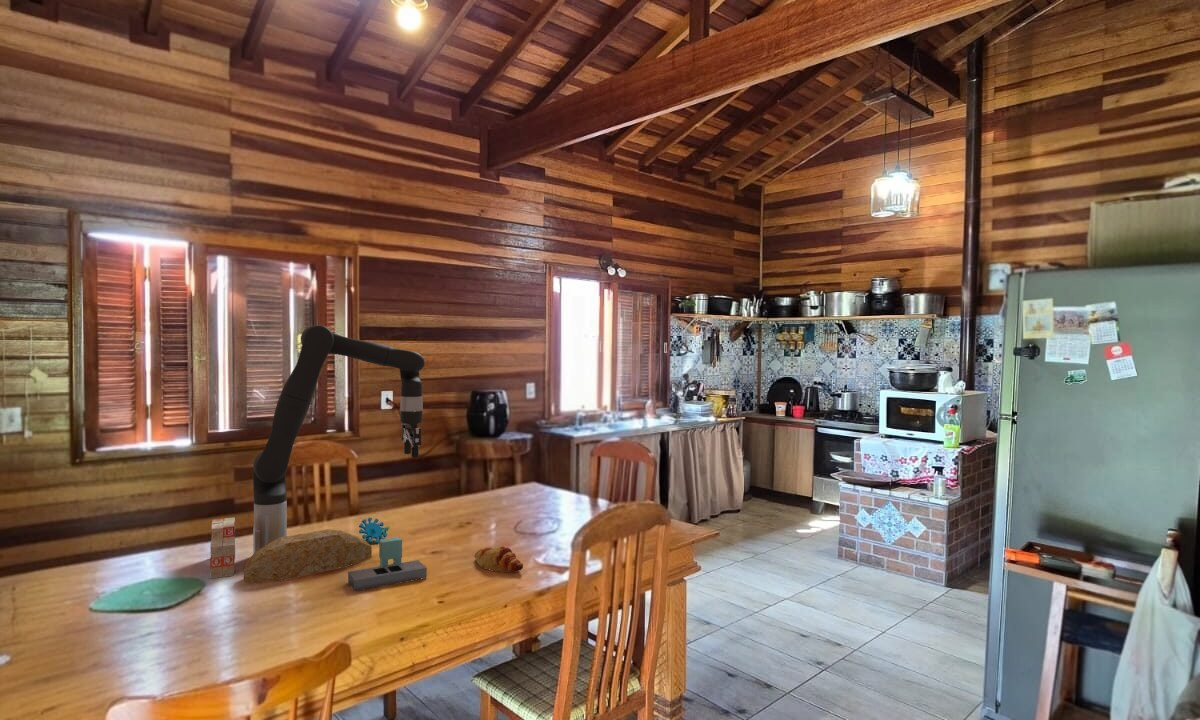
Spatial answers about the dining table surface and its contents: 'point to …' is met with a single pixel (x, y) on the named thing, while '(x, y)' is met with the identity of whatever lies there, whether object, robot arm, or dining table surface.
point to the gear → (373, 530)
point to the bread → (305, 555)
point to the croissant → (498, 559)
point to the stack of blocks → (222, 548)
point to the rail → (386, 575)
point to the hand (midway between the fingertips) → (411, 455)
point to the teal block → (390, 550)
